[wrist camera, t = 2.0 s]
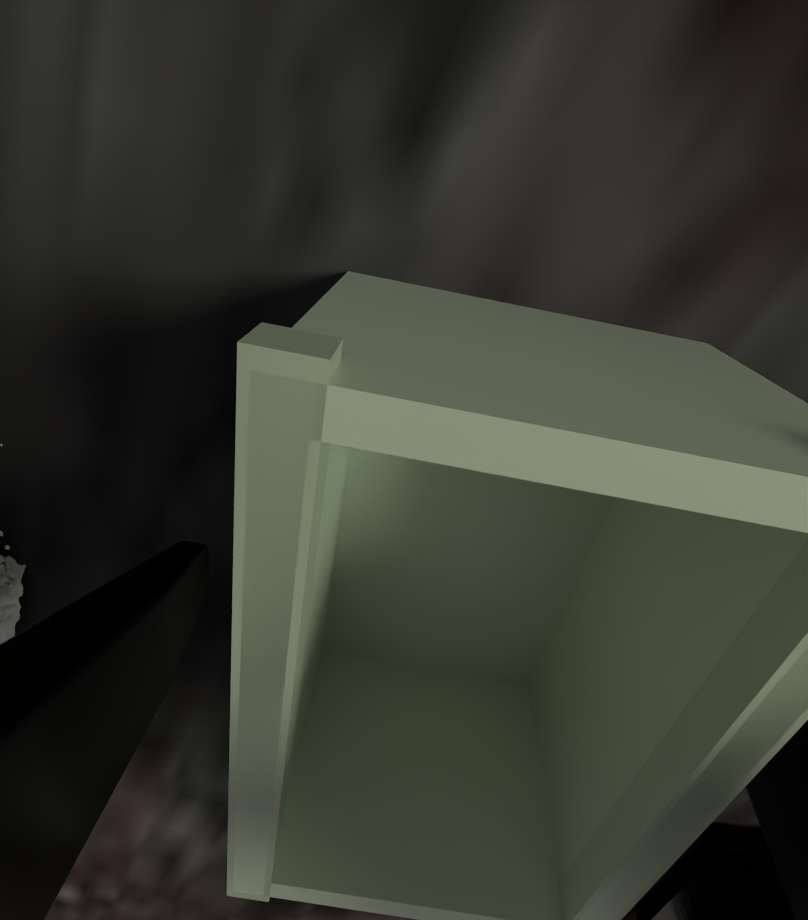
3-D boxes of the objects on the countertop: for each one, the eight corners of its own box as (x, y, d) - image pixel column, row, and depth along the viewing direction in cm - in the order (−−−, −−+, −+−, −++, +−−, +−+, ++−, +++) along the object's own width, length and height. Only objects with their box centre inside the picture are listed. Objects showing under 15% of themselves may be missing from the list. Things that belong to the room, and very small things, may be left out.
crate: (539, 690, 13) (591, 951, 9) (299, 649, 13) (226, 895, 8) (714, 330, 8) (1018, 494, 4) (345, 255, 8) (237, 341, 4)
